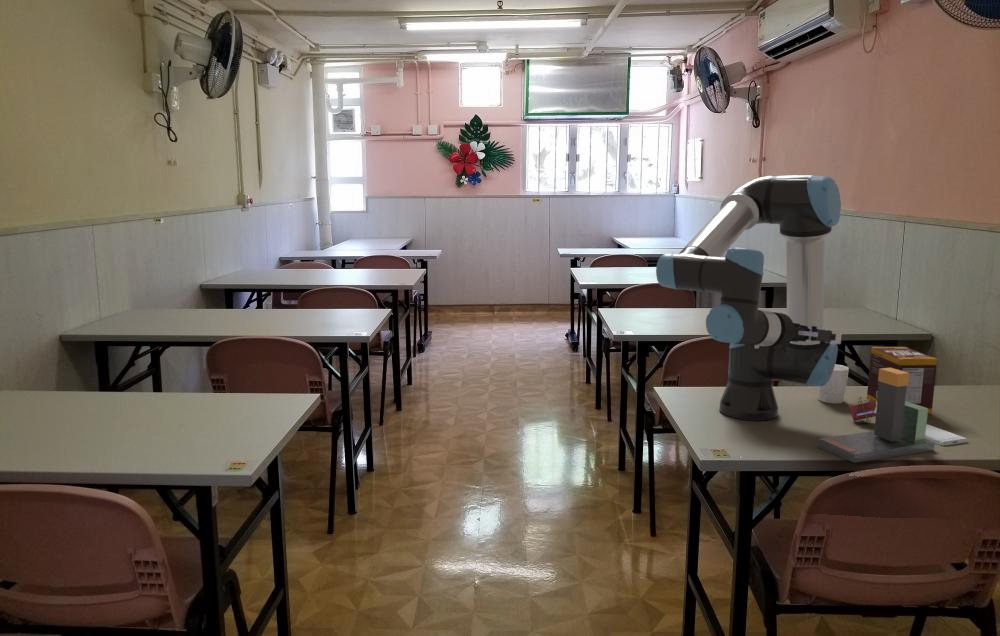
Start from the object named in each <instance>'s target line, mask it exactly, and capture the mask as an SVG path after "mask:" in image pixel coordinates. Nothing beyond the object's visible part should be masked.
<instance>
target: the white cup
mask: <svg viewBox="0 0 1000 636" xmlns="http://www.w3.org/2000/svg"><path fill="white" fill-rule="evenodd" d="M849 370H850V369H849V367H848V366H846V365H841V364H836V363H835V366H834V370H833V372H832V375H831V377H830V379H829V381H828V382H827V383H826V384H825V385H823V386H817V387H818V388H817V391H818V392H817V393H818V394H817V395H818V397H817V400H819V401H821V402H822V403H827V404H836V405H837V404H843V403H844V401H845V394H846V389H847V384H848V376H849Z"/></svg>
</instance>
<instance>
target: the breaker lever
mask: <svg viewBox="0 0 1000 636" xmlns="http://www.w3.org/2000/svg"><path fill="white" fill-rule="evenodd" d="M878 381H879V390H878V400H877V410H876V416H875V417H876V418H875V419H876V420H875V419H874V421H875V423H874V430H873V431H874V435H876V436H879V437H881V438H884V439H886V440H889V441H897V440H901V435H902V425H903V416H904V406H905V397H906V388H907V386H908V382H909V373H908V372H904V371H901V370H897V369H894V368H881V369H879V376H878Z"/></svg>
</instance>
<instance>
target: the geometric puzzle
mask: <svg viewBox="0 0 1000 636" xmlns="http://www.w3.org/2000/svg"><path fill="white" fill-rule="evenodd" d="M858 399H859V400H858V402H853V403H851V405H848V408H849V412H850V413H851V417H852V421H853V422H857V421H858V422H859V423H861V422H862V421H863V422H864V423H863V422H862V424H863V425H865V423H866V424H867V425H870V424H871V421H872V419H873V418H874V421H875V420H876V410H877V402H876V400H875V401H867V400H865V399H864V398H863V397H862V396H860V397H859V398H858ZM862 399H863V400H864V401H863V400H862ZM865 401H866V402H865ZM866 421H867V422H866Z"/></svg>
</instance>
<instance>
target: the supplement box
mask: <svg viewBox="0 0 1000 636" xmlns="http://www.w3.org/2000/svg"><path fill="white" fill-rule="evenodd" d="M937 365H938V359H937V358H936V357H933V356H930V355H928V354H925V353H924V352H923V353H922V352H920V351H918V350H914V349H912V348H909V347H907V346H871V353H870V361H869V369H868V370H869V371H868V372H869V373H868V380H867V382H868V383H867V393H866V399H867V401H869V402H871V401H875V400H876V402H877V400H878V390H879V381H878V376H879V369H881V368H894V369H897V370H901V371H904V372H908V373H909V382H908V386H907V388H906V397H905V401H907V402H910V403H913V404H916V405H919V406H922V407H925V408H928V414H927V415H932V413H933V405H934V395H935V393H934V392H935V384H936V373H937Z"/></svg>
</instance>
